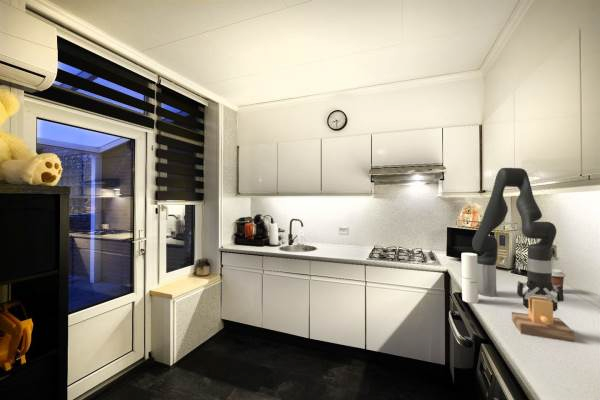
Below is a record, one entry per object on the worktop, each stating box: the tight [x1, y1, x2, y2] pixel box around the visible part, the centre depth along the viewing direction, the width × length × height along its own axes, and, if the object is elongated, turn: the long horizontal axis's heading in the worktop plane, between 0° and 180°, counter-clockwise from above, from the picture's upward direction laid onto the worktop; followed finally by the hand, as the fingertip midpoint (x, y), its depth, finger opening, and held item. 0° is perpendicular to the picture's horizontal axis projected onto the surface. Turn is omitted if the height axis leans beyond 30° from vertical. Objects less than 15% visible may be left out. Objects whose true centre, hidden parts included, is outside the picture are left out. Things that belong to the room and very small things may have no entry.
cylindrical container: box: [461, 252, 479, 304], centre depth 141 cm, size 7×7×25 cm
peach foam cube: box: [527, 295, 554, 325], centre depth 108 cm, size 9×6×9 cm, turn 155°
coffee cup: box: [550, 268, 566, 294], centre depth 152 cm, size 9×9×12 cm
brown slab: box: [511, 311, 575, 342], centre depth 109 cm, size 12×16×10 cm
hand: (539, 308), depth 109 cm, fingers open, 8 cm apart
